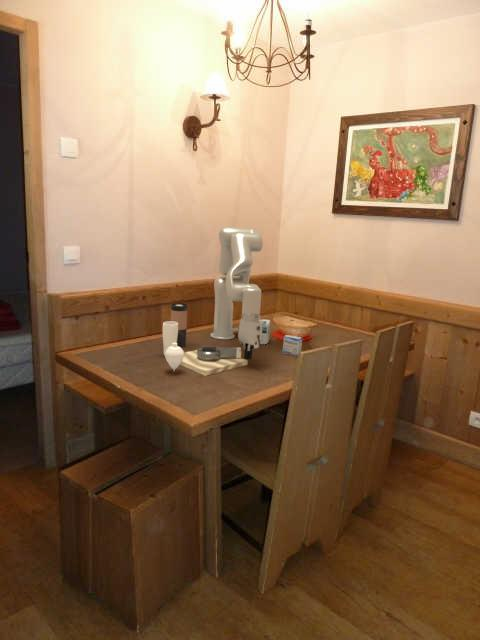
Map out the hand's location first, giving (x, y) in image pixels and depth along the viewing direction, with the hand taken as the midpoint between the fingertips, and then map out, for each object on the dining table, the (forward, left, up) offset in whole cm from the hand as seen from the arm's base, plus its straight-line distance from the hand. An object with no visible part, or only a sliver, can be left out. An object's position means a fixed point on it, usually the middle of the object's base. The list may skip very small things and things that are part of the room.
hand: (247, 358), depth 197 cm
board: (+10, -14, -4) cm, 18 cm away
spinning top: (+29, -13, -4) cm, 32 cm away
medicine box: (-31, -1, -4) cm, 31 cm away
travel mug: (+5, -42, -4) cm, 42 cm away
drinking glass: (+18, -31, -4) cm, 36 cm away
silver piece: (+6, -11, -1) cm, 13 cm away
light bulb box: (-35, -24, -4) cm, 43 cm away
